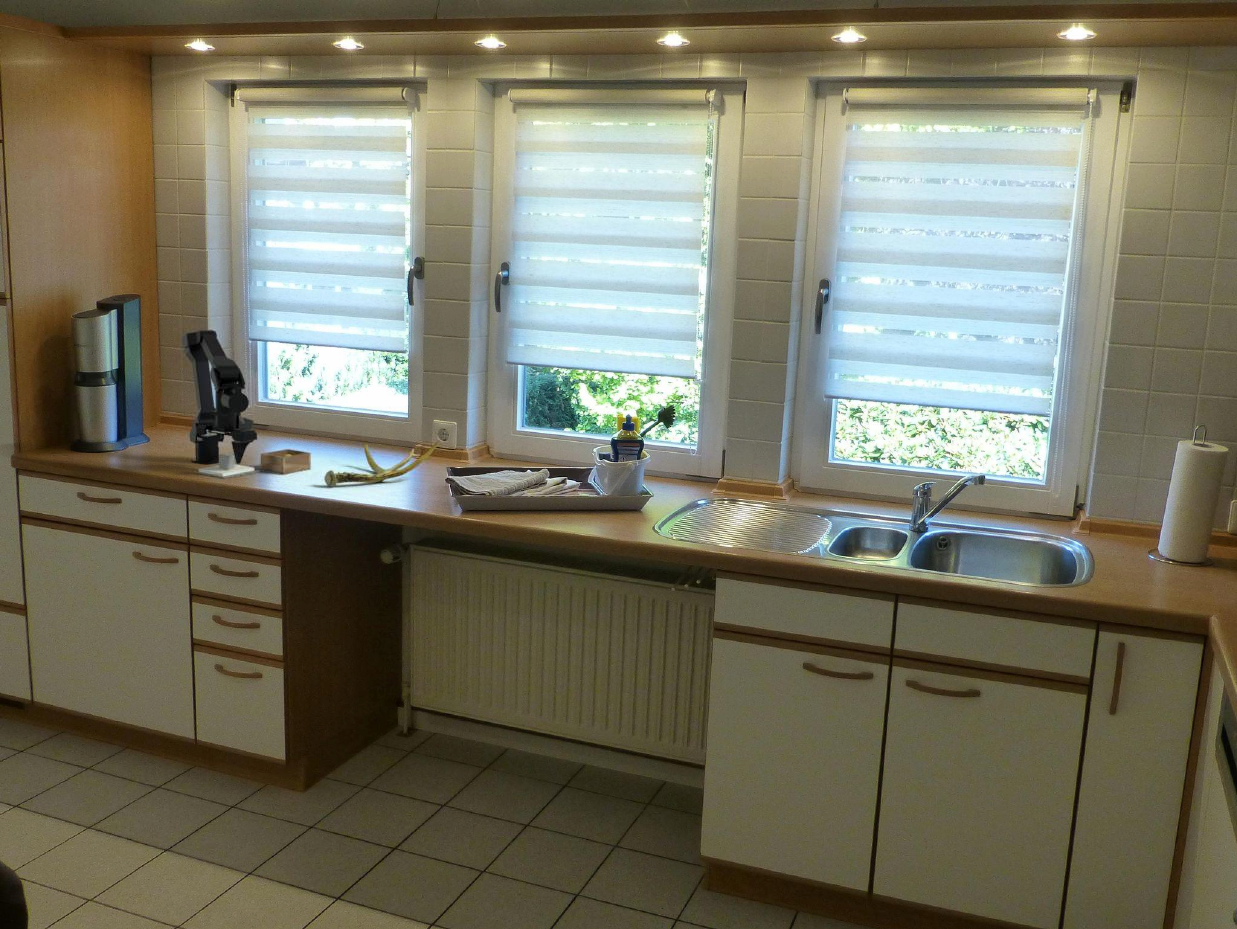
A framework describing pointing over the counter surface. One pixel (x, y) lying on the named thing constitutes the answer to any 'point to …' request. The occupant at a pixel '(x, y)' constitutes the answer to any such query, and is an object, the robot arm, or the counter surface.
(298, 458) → the crate
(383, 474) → the antler
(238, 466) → the lid
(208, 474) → the mat
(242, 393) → the robot arm
